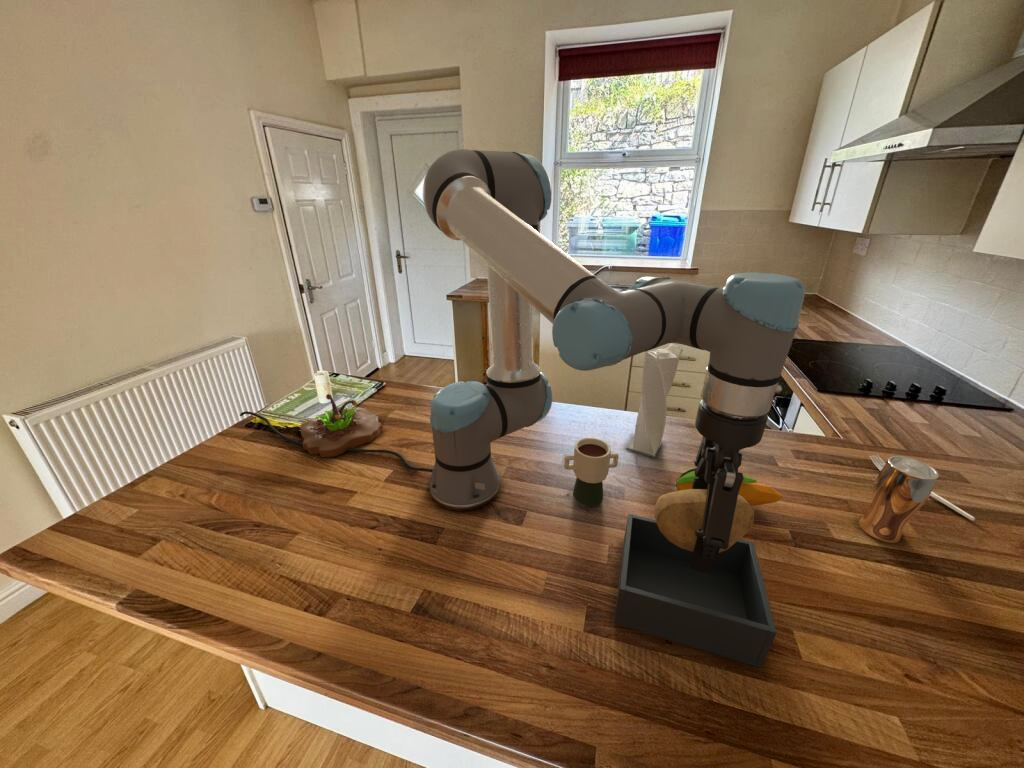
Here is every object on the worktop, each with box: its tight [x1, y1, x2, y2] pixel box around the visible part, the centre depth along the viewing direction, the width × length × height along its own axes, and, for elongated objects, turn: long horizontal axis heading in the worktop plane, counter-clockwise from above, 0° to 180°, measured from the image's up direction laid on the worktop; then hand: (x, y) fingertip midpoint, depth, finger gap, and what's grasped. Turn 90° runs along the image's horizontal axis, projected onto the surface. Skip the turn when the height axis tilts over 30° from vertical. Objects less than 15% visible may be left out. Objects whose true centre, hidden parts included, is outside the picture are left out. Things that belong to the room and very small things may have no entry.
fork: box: [869, 453, 976, 522], centre depth 86 cm, size 3×20×2 cm, turn 12°
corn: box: [675, 467, 783, 507], centre depth 82 cm, size 7×8×20 cm
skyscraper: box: [625, 343, 684, 459], centre depth 95 cm, size 8×8×28 cm
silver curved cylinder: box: [858, 455, 940, 544], centre depth 73 cm, size 7×7×15 cm
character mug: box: [563, 437, 619, 508], centre depth 82 cm, size 11×7×13 cm, turn 94°
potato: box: [653, 489, 755, 553], centre depth 57 cm, size 10×14×8 cm
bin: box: [613, 513, 777, 669], centre depth 62 cm, size 20×16×8 cm
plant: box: [299, 393, 384, 458], centre depth 105 cm, size 20×20×11 cm
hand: (698, 539), depth 58 cm, fingers closed on potato, 10 cm apart
